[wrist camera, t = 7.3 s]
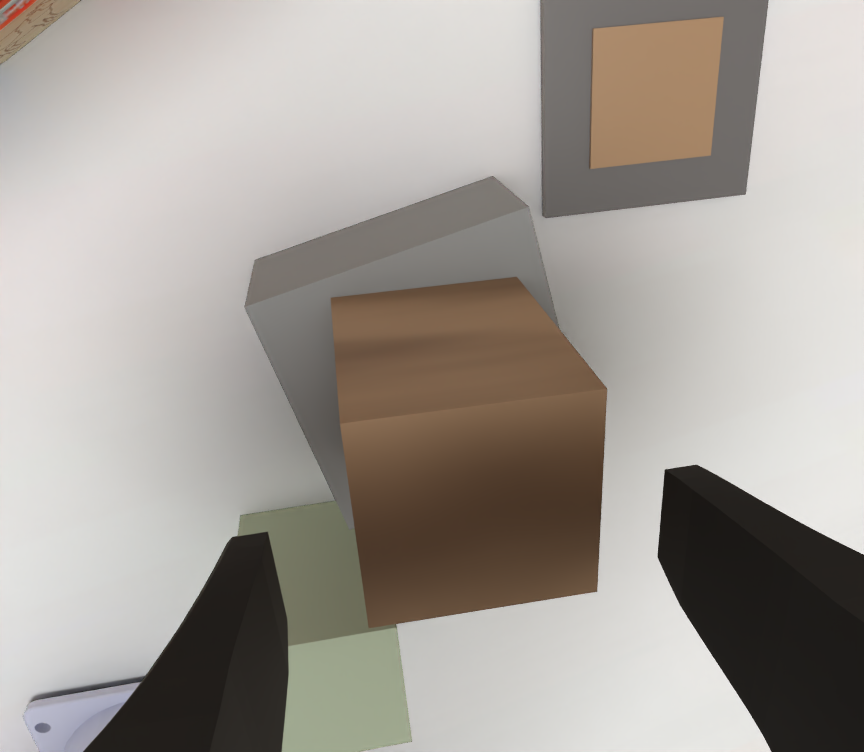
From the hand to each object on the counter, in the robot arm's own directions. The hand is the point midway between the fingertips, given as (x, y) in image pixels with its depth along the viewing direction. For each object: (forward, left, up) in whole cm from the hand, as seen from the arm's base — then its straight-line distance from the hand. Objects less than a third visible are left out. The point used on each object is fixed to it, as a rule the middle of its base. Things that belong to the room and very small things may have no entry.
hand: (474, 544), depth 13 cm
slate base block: (0, 0, -10) cm, 10 cm away
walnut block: (0, 0, -6) cm, 6 cm away
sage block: (-8, +4, -10) cm, 13 cm away
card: (+6, -7, -10) cm, 14 cm away
